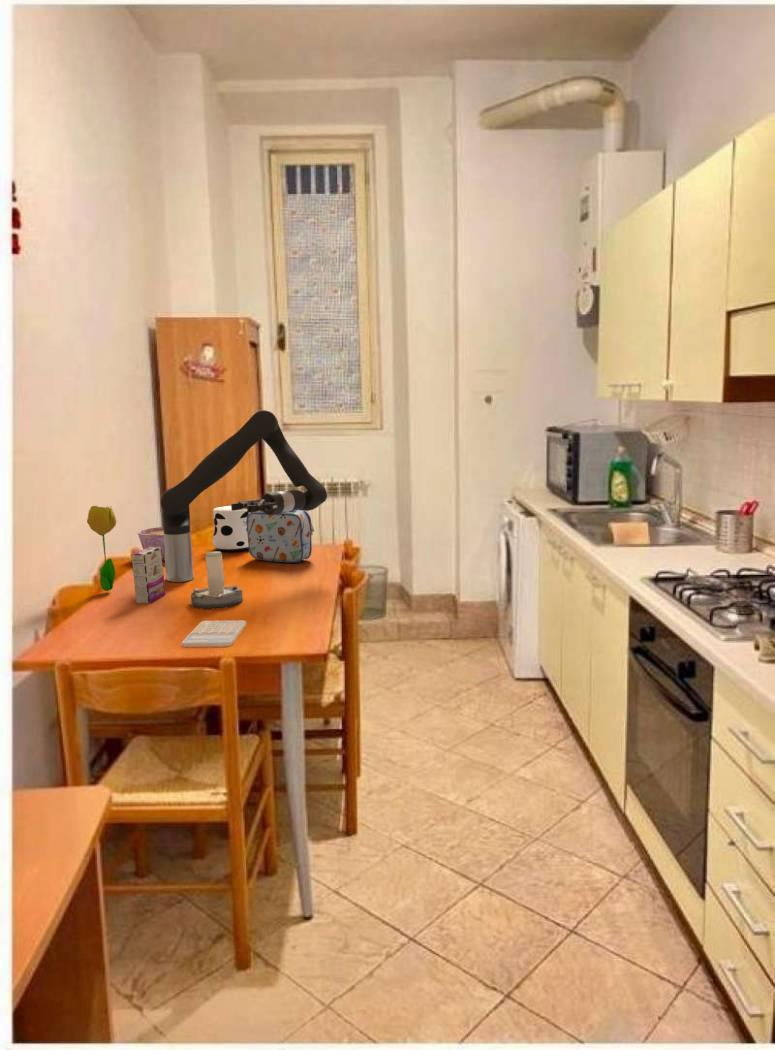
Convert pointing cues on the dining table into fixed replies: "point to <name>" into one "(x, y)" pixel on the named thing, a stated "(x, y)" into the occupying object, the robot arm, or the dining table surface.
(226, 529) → the milk container
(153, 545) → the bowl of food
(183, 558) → the robot arm
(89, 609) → the dining table surface
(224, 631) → the calculator
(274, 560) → the lunch box
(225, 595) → the base plate
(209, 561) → the column
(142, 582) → the candy bar box
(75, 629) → the dining table surface
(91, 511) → the flower
